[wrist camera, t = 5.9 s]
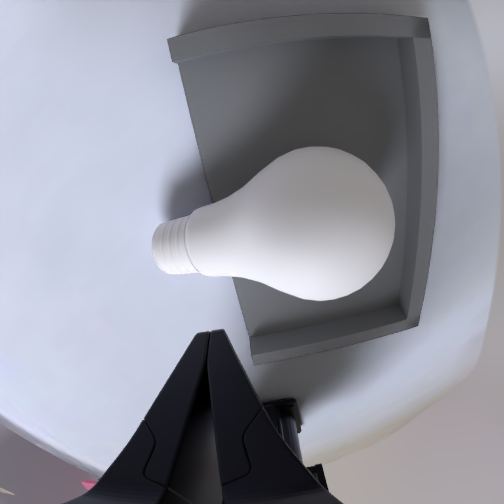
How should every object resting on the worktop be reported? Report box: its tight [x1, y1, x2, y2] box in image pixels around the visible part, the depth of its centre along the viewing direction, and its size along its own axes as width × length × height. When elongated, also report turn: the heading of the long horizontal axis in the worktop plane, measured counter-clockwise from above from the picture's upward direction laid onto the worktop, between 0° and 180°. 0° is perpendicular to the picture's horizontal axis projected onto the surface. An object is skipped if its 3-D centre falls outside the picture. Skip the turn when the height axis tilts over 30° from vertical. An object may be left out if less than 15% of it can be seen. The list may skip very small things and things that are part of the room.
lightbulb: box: [152, 147, 395, 301], centre depth 14 cm, size 6×6×11 cm
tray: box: [167, 13, 439, 365], centre depth 15 cm, size 18×11×2 cm, turn 11°
